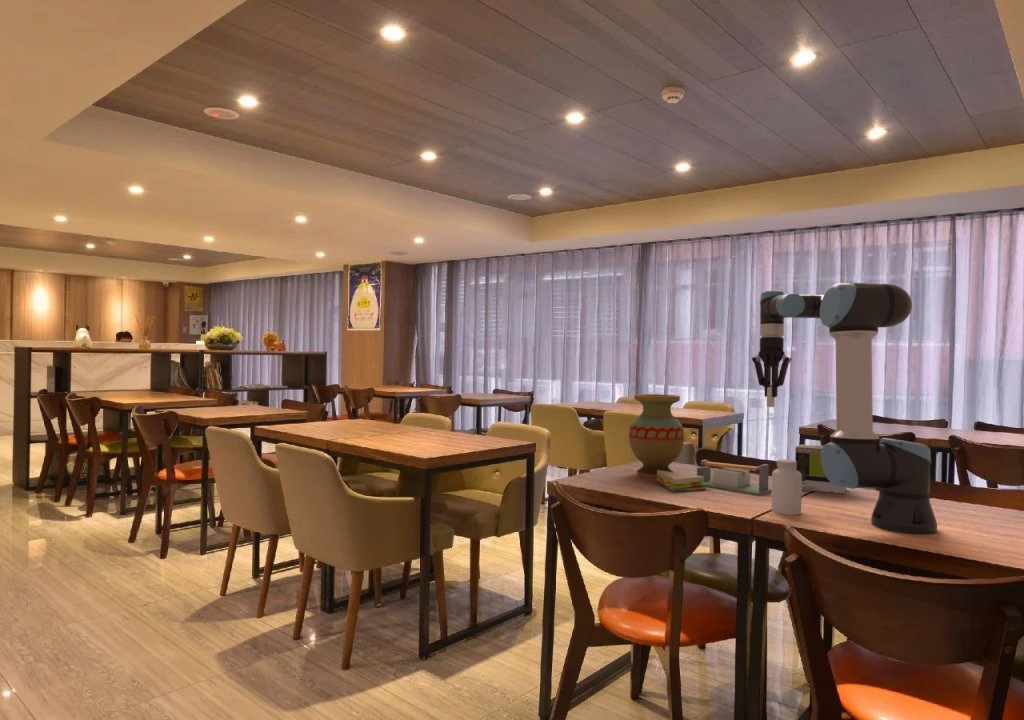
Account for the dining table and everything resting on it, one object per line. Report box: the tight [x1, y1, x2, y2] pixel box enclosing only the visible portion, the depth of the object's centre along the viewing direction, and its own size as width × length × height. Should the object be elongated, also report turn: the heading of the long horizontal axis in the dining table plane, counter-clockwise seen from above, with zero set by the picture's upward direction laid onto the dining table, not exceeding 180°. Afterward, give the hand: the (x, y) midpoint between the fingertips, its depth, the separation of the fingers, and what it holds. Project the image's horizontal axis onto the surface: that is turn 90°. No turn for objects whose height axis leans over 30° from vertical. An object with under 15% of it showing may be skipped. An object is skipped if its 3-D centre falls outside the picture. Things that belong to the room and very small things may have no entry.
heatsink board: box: [696, 463, 772, 497], centre depth 234 cm, size 28×16×9 cm, turn 44°
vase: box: [628, 393, 685, 479], centre depth 252 cm, size 20×20×30 cm
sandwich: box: [655, 470, 708, 492], centre depth 231 cm, size 15×20×5 cm
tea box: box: [794, 444, 847, 494], centre depth 232 cm, size 15×10×15 cm, turn 58°
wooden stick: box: [698, 459, 759, 472], centre depth 234 cm, size 21×4×2 cm, turn 44°
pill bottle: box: [771, 459, 803, 516], centre depth 196 cm, size 8×8×15 cm
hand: (770, 406), depth 231 cm, fingers closed
